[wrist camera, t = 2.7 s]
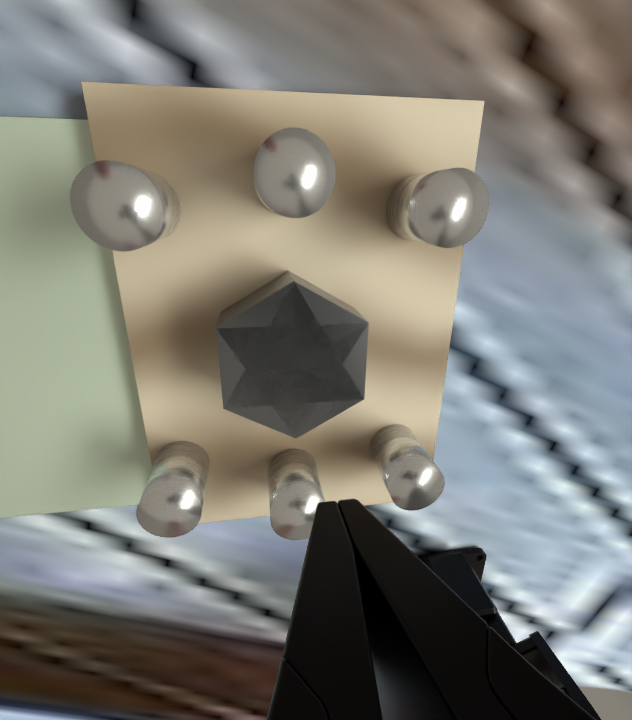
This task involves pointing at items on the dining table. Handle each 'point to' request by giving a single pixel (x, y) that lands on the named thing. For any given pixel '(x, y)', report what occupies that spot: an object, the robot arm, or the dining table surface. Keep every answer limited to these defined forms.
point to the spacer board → (283, 269)
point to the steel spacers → (293, 200)
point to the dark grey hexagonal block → (291, 355)
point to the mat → (61, 338)
